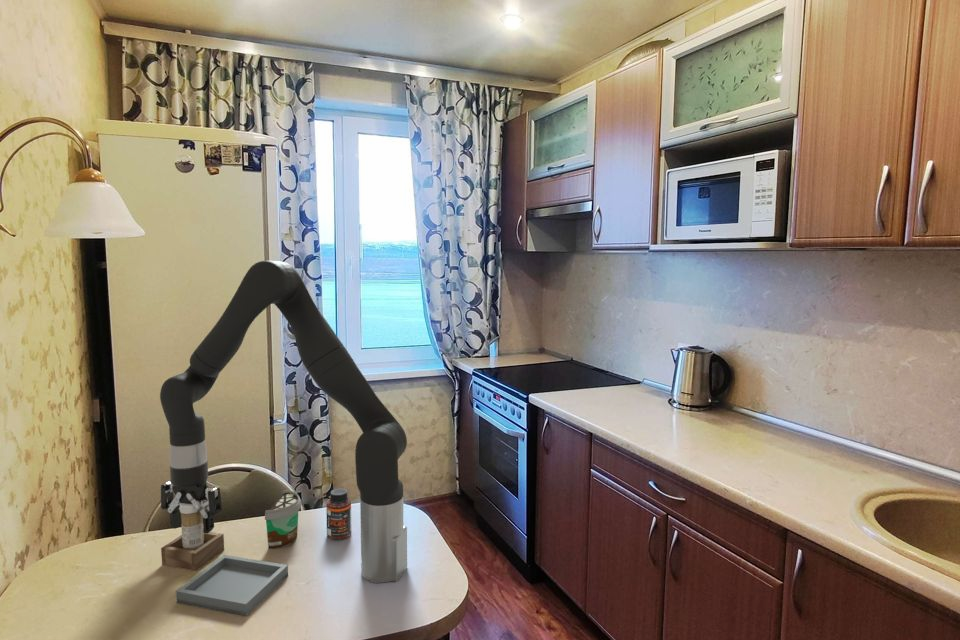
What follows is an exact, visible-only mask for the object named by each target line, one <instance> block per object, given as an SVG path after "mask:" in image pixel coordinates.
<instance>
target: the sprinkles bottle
mask: <svg viewBox="0 0 960 640" xmlns="http://www.w3.org/2000/svg"><path fill="white" fill-rule="evenodd" d="M200 504H203V501H202V502H201V503H200ZM179 510H180V512H181V535H182V543H183V549H187V550H193V551H195V550H197V549H198V548H200V547H201V546H202V545H204V532H203V516H202V514H201V513H200V511H197V510H196V508H195V507H194V505H193V504H186V503H180V508H179Z"/></svg>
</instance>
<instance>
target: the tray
mask: <svg viewBox="0 0 960 640" xmlns="http://www.w3.org/2000/svg"><path fill="white" fill-rule="evenodd" d="M288 577H289V565H287V564H282V563H276V562H271V561H265V560H257V559H252V558H246V557H239V556H234V555H227V554H223V555H222V556H221V557H220V558H218V559H217V560H216V561H214V562H213V563H212V564H210V565H209V566H207V567H206V568H204V570H202V571H201V572H199V573H198V574H197V575H195V576H194V577H193V578H191V579H190V580H189V581H188V582H186V583H185V584H184V585H182V586H181V587H179V588H178V589H177V590H175V600H176V604H181V605H187V606H191V607H196V608H202V609H206V610H211V611H218V612H223V613H227V614H233V615H238V616H242V617H243V616H244V617H247V616H249V614H250V613H252V612H253V610H255V609H256V608H257V607H258V606H259V605H260V603H262V602H263V601H264V600H265V599H266V598H267V597H268V596H269V595H270V594H271V593H273V592H274V590H275V589H276V588H277V587H278V586H279V585H281V584H282V582H284V581H285V580H286V579H287V578H288Z"/></svg>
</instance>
